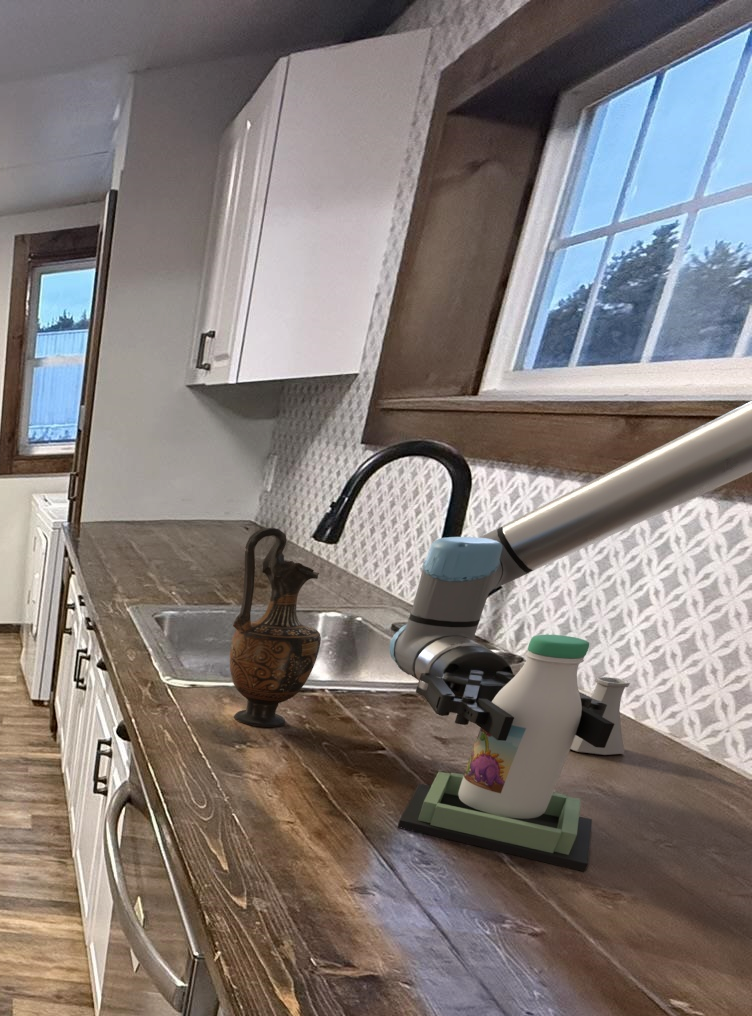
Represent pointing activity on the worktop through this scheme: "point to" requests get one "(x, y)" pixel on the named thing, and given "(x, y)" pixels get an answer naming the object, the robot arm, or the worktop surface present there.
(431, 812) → the docking pad
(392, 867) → the worktop surface
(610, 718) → the flask
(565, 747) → the milk bottle
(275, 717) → the vase
